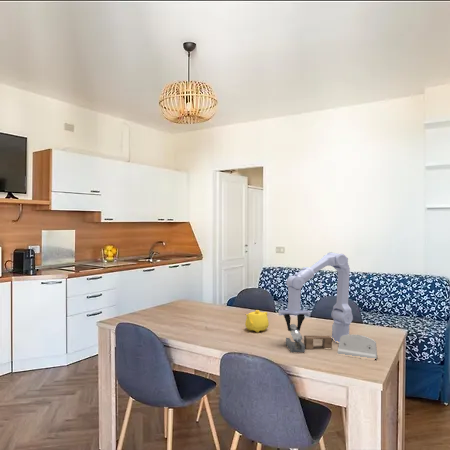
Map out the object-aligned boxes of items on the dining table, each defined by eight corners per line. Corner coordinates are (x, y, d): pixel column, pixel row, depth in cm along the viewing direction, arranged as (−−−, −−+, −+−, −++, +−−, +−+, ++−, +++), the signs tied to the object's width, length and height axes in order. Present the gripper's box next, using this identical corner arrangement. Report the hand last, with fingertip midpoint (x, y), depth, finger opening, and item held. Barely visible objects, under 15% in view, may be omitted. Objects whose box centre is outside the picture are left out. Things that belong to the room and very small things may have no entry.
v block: (285, 344, 183) (285, 337, 183) (298, 344, 184) (298, 337, 184) (291, 352, 171) (291, 345, 171) (304, 352, 172) (304, 345, 172)
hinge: (336, 354, 170) (338, 331, 173) (338, 355, 174) (339, 332, 177) (376, 361, 163) (377, 337, 166) (377, 361, 167) (378, 338, 170)
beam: (303, 346, 181) (304, 335, 181) (328, 346, 182) (329, 335, 182) (306, 349, 177) (306, 338, 177) (331, 349, 178) (331, 338, 178)
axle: (287, 331, 183) (289, 323, 182) (296, 332, 183) (297, 324, 182) (292, 341, 173) (294, 333, 172) (301, 342, 173) (302, 334, 173)
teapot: (252, 336, 196) (253, 315, 196) (237, 331, 204) (237, 311, 204) (274, 329, 209) (274, 309, 209) (258, 325, 217) (259, 306, 217)
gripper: (280, 303, 176) (280, 332, 176) (311, 303, 177) (311, 332, 177) (277, 300, 183) (277, 328, 183) (307, 300, 184) (307, 328, 184)
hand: (293, 330), depth 181 cm, fingers closed on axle, 4 cm apart
